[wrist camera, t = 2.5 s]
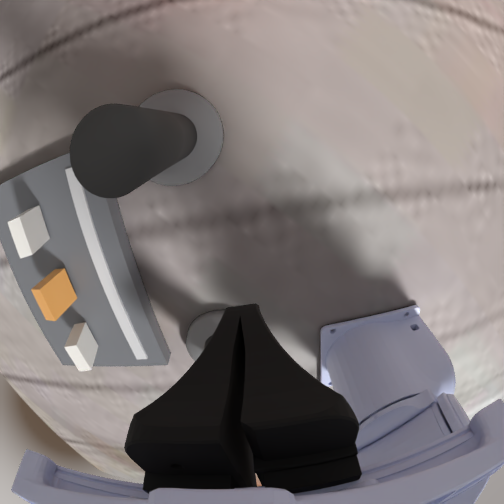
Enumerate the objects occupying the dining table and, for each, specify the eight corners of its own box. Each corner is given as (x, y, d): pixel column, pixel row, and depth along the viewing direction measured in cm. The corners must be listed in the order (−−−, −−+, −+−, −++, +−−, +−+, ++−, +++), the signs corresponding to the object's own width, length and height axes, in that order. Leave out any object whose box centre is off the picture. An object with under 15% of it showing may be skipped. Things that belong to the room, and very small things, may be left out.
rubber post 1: (215, 82, 15) (187, 33, 6) (230, 173, 18) (220, 225, 9) (124, 105, 16) (26, 98, 7) (142, 191, 18) (63, 254, 9)
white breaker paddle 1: (39, 205, 16) (19, 216, 14) (50, 238, 17) (32, 254, 15) (27, 209, 16) (7, 221, 13) (38, 242, 17) (20, 258, 14)
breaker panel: (103, 141, 16) (92, 144, 15) (170, 352, 24) (167, 366, 22) (-4, 187, 17) (-16, 193, 15) (68, 355, 24) (62, 366, 23)
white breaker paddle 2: (85, 322, 20) (76, 345, 18) (98, 346, 21) (91, 370, 19) (74, 324, 20) (64, 347, 17) (87, 347, 21) (79, 371, 19)
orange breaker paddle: (64, 268, 18) (39, 289, 15) (77, 298, 19) (55, 321, 16) (55, 269, 18) (30, 289, 16) (67, 298, 19) (46, 320, 17)
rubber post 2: (254, 305, 22) (262, 414, 13) (264, 359, 25) (274, 458, 16) (179, 314, 22) (152, 419, 13) (198, 366, 25) (186, 463, 16)
